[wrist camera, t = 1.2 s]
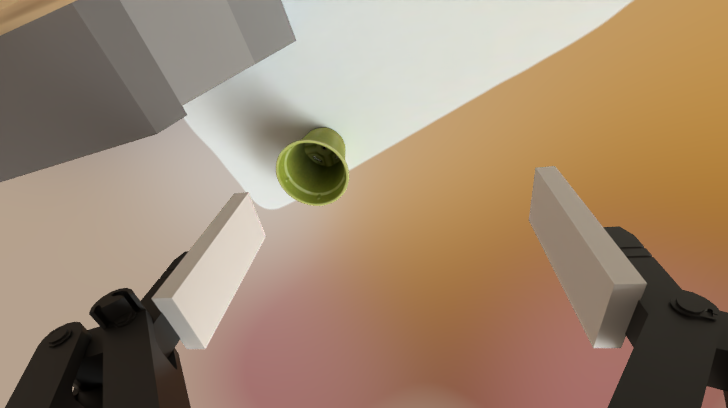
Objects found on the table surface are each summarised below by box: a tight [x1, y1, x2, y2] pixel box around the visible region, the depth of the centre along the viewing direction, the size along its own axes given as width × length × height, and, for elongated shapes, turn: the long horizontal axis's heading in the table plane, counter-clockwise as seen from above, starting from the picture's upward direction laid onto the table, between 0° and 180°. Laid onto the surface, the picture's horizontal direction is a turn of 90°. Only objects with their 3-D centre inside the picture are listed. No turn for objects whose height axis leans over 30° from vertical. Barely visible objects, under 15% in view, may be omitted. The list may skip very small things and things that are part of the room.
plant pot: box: [276, 128, 349, 206], centre depth 47 cm, size 9×9×9 cm
